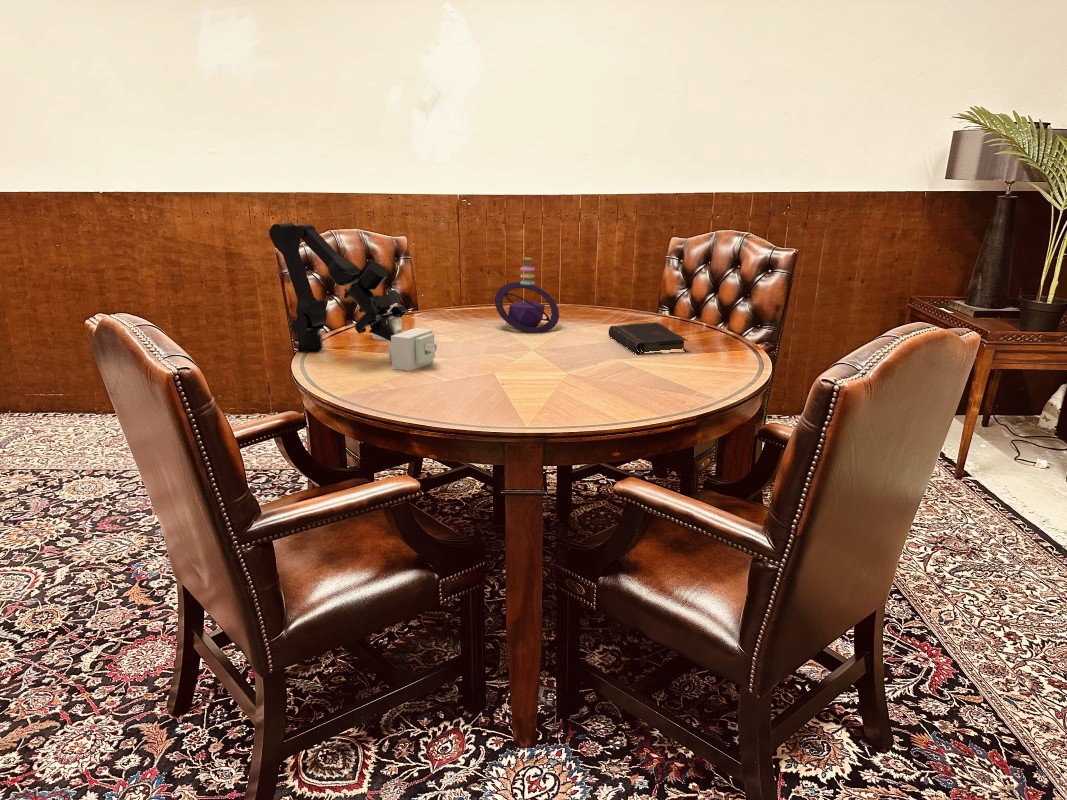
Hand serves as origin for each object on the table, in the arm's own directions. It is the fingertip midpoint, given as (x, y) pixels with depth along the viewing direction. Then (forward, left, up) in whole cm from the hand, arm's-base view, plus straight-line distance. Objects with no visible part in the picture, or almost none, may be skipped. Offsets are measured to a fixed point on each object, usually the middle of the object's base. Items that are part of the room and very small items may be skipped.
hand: (399, 340), depth 209 cm
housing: (+4, -2, -7) cm, 8 cm away
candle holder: (-9, +34, -7) cm, 36 cm away
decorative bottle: (+40, +47, -7) cm, 62 cm away
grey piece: (+4, -2, -7) cm, 8 cm away
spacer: (+8, -4, -5) cm, 10 cm away
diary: (+78, +21, -7) cm, 81 cm away
